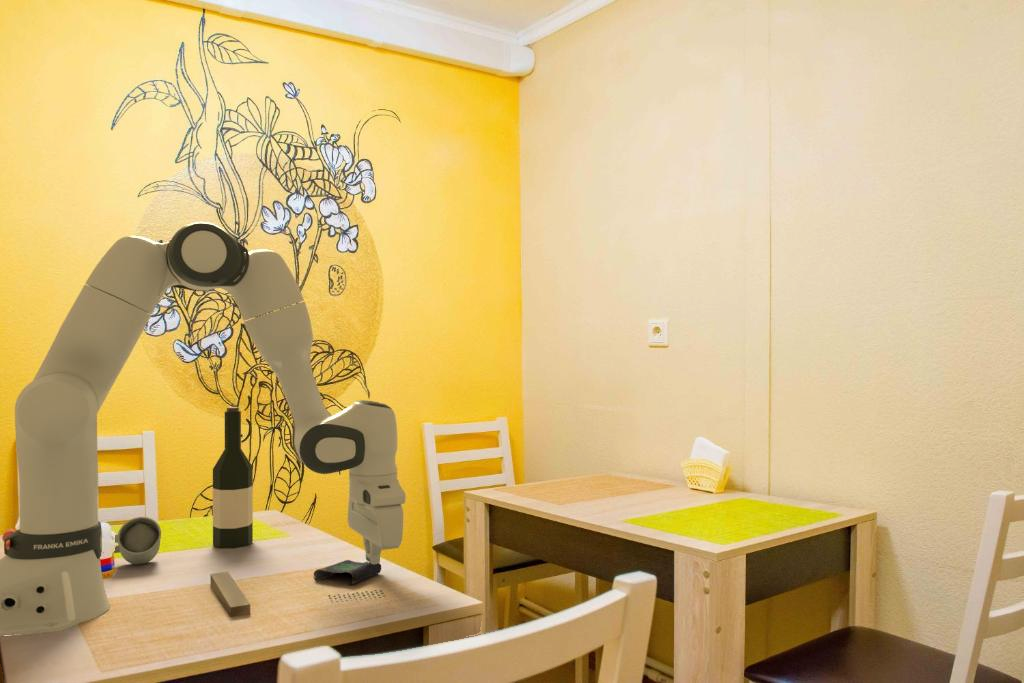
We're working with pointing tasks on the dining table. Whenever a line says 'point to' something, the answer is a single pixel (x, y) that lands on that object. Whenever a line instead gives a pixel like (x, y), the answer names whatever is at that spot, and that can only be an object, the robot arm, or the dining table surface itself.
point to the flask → (349, 570)
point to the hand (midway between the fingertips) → (372, 562)
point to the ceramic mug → (138, 540)
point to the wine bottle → (232, 489)
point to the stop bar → (229, 594)
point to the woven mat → (358, 595)
